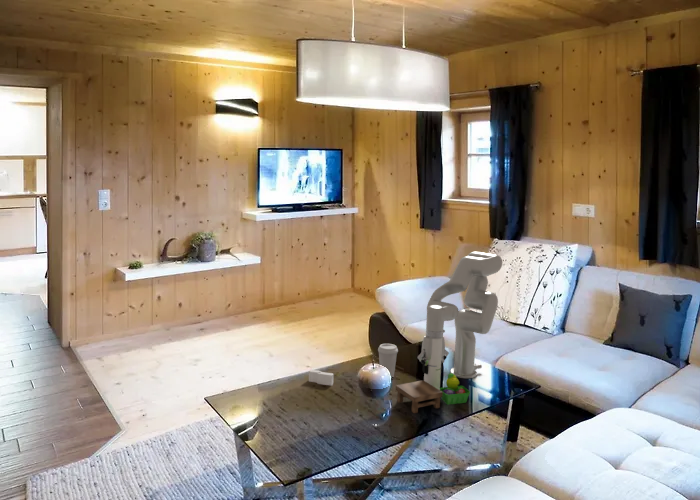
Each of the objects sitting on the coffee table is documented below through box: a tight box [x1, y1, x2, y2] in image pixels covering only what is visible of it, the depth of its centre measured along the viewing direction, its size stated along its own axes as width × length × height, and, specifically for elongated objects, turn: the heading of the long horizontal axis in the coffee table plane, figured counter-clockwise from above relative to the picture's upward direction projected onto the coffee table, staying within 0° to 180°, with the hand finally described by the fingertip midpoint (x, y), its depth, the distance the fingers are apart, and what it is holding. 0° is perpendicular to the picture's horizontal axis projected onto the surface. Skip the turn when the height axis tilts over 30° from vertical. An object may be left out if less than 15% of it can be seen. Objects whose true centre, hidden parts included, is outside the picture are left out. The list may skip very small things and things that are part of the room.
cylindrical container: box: [423, 338, 442, 390], centre depth 253 cm, size 7×7×25 cm
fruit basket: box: [440, 373, 471, 405], centre depth 244 cm, size 11×9×11 cm
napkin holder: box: [308, 369, 335, 387], centre depth 261 cm, size 15×11×6 cm
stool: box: [395, 379, 443, 414], centre depth 240 cm, size 14×14×7 cm
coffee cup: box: [377, 343, 399, 377], centre depth 269 cm, size 10×10×15 cm
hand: (432, 371), depth 254 cm, fingers closed on cylindrical container, 7 cm apart
